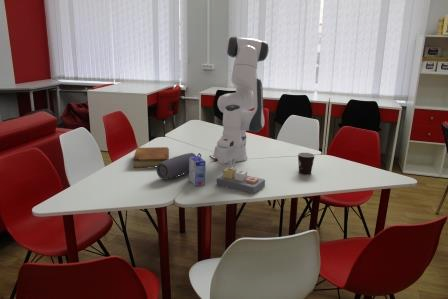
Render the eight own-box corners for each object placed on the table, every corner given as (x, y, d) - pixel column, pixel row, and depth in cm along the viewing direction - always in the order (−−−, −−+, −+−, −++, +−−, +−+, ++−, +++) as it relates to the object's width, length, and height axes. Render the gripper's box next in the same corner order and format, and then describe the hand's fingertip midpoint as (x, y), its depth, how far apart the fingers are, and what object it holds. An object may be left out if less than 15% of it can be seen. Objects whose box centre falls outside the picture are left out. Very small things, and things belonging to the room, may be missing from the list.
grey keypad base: (216, 185, 184) (216, 178, 183) (228, 178, 194) (229, 171, 193) (253, 194, 174) (254, 187, 173) (264, 186, 184) (265, 179, 183)
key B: (234, 181, 183) (234, 172, 182) (239, 178, 186) (239, 169, 185) (242, 183, 181) (243, 173, 179) (247, 180, 184) (247, 171, 183)
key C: (245, 188, 181) (245, 179, 179) (249, 185, 184) (250, 176, 183) (253, 190, 178) (254, 180, 177) (257, 187, 182) (258, 178, 181)
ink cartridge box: (205, 185, 184) (206, 156, 180) (194, 186, 182) (195, 157, 178) (199, 178, 193) (199, 151, 189) (188, 179, 191) (188, 152, 187)
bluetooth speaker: (185, 167, 208) (185, 150, 205) (198, 171, 203) (199, 153, 200) (155, 179, 190) (155, 160, 188) (169, 183, 185) (169, 164, 182)
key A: (223, 178, 186) (224, 169, 184) (228, 176, 189) (228, 167, 188) (231, 180, 184) (231, 171, 182) (236, 178, 187) (236, 169, 186)
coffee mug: (313, 176, 200) (314, 157, 198) (296, 174, 202) (297, 156, 199) (312, 169, 211) (314, 151, 209) (296, 167, 213) (298, 150, 210)
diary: (168, 168, 208) (168, 158, 206) (133, 169, 206) (132, 159, 204) (168, 156, 230) (168, 146, 228) (137, 156, 228) (136, 147, 226)
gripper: (236, 134, 191) (235, 160, 195) (214, 143, 174) (214, 171, 178) (247, 136, 188) (246, 162, 192) (226, 145, 171) (226, 174, 175)
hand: (231, 167), depth 185 cm, fingers closed
